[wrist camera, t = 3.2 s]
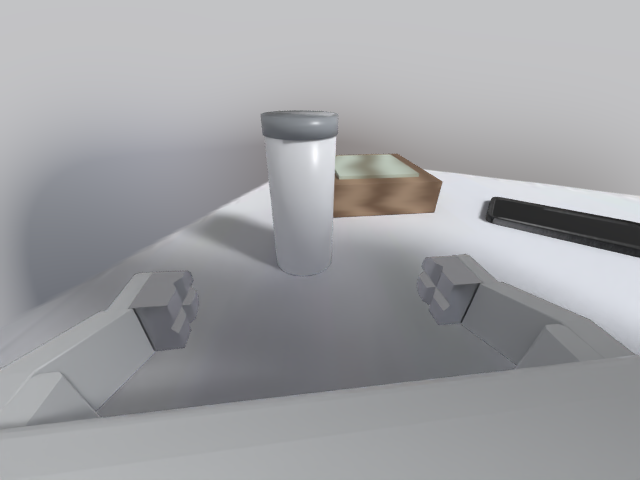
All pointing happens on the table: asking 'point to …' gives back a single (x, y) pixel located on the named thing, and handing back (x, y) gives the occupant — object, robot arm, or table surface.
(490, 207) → the phone
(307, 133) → the canister
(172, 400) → the table surface
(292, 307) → the table surface
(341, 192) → the walnut base
